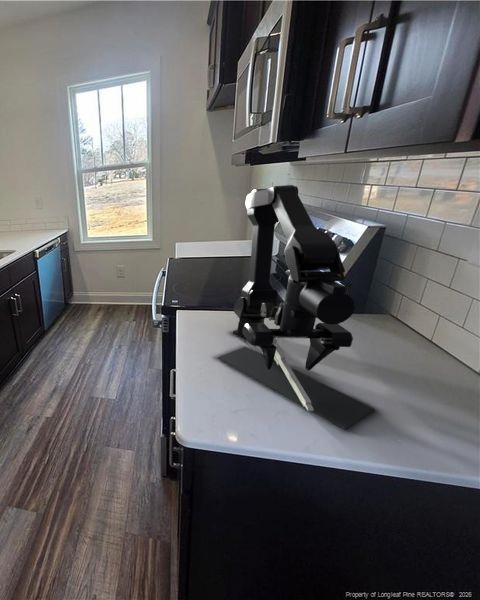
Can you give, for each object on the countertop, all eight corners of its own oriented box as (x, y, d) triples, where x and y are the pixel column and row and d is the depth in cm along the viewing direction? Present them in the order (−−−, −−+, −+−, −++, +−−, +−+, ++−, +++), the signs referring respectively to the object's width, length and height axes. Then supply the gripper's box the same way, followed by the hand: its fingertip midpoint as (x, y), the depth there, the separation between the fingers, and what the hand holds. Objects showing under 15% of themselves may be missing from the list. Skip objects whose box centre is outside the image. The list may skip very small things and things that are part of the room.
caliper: (264, 355, 79) (268, 333, 77) (269, 355, 79) (273, 333, 77) (307, 412, 60) (314, 384, 58) (313, 412, 60) (320, 384, 58)
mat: (244, 347, 84) (245, 346, 84) (374, 410, 60) (375, 408, 60) (217, 358, 80) (217, 357, 80) (344, 430, 56) (345, 428, 56)
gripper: (328, 288, 69) (314, 350, 75) (238, 289, 72) (230, 349, 78) (364, 308, 59) (344, 378, 65) (257, 308, 62) (247, 376, 67)
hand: (287, 368), depth 69 cm, fingers open, 8 cm apart
